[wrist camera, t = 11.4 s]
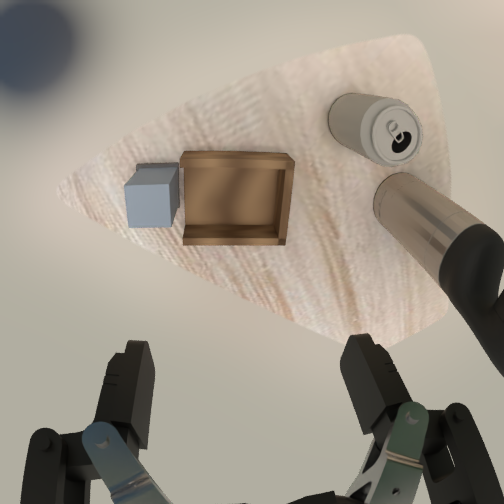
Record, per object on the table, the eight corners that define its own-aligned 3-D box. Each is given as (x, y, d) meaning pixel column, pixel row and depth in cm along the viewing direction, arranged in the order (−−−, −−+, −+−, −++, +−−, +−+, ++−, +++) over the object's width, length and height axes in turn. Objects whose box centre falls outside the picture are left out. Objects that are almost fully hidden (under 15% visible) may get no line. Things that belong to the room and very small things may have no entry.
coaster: (178, 162, 36) (177, 163, 36) (179, 206, 39) (179, 207, 39) (137, 164, 36) (135, 165, 35) (140, 206, 39) (139, 208, 38)
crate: (286, 153, 37) (294, 161, 33) (278, 229, 43) (285, 245, 39) (184, 151, 36) (179, 159, 32) (186, 229, 41) (182, 245, 37)
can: (349, 157, 38) (393, 186, 28) (314, 117, 35) (353, 130, 25) (386, 123, 36) (438, 142, 26) (354, 82, 33) (404, 84, 22)
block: (177, 167, 36) (169, 184, 30) (178, 203, 39) (171, 227, 33) (139, 168, 35) (123, 185, 29) (142, 204, 38) (128, 227, 32)
